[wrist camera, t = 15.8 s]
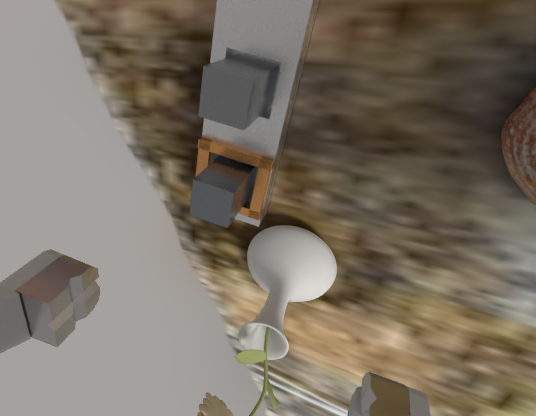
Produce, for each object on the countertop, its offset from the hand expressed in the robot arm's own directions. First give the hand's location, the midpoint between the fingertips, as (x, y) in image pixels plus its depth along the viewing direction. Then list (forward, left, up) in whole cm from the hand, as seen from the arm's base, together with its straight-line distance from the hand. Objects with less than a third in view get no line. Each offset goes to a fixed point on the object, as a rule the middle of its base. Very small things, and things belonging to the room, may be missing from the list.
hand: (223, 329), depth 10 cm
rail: (+8, 0, -29) cm, 30 cm away
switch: (+8, 0, -28) cm, 29 cm away
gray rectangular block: (+8, +10, -28) cm, 30 cm away
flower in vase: (-1, +21, -29) cm, 36 cm away
